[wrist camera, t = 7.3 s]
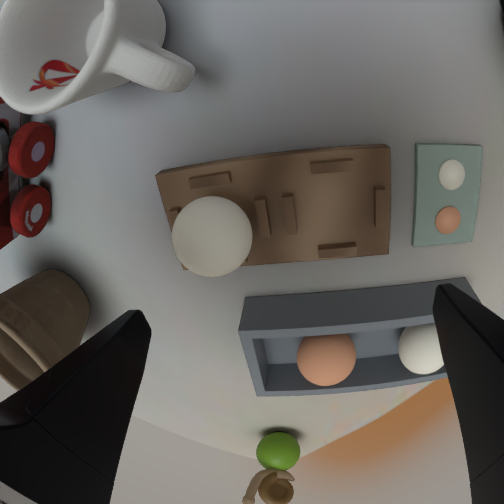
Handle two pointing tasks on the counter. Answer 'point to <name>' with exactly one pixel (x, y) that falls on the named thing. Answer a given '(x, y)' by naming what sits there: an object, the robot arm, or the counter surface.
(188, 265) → the ball ivory rack
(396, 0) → the counter surface
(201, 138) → the counter surface
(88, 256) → the counter surface
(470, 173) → the card
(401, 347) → the ball ivory trough
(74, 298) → the flower pot
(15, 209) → the toy fire truck
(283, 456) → the snail figurine
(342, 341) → the ball terracotta
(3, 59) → the cup
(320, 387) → the trough
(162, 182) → the rack
